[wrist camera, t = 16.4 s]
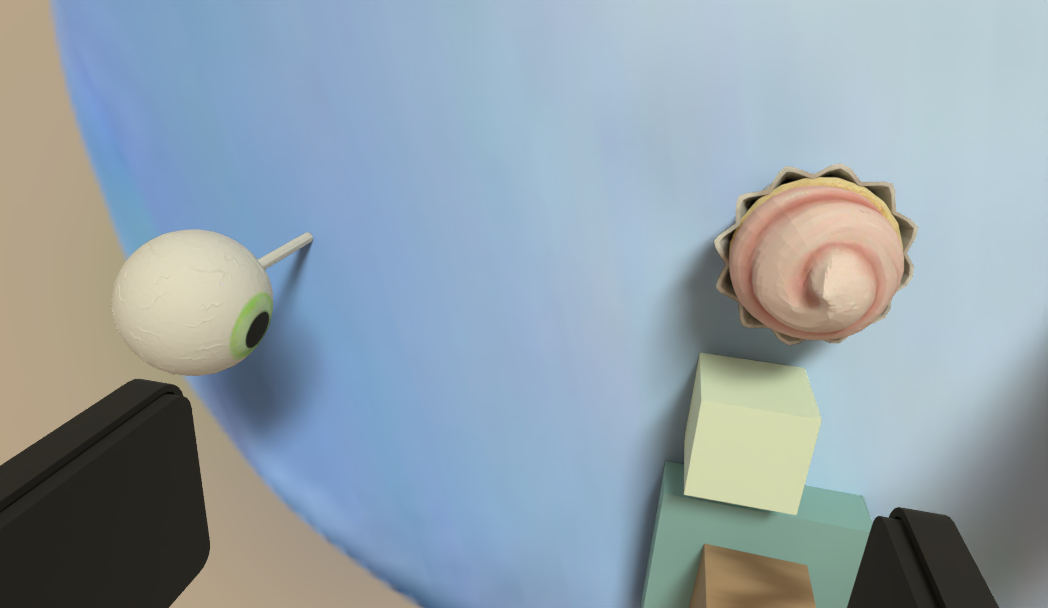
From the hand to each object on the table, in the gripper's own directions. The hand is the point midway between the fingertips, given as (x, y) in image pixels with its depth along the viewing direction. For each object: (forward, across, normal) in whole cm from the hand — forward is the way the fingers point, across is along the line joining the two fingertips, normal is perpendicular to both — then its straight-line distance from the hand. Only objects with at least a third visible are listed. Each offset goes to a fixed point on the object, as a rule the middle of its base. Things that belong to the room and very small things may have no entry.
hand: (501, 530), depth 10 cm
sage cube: (+32, -8, +15) cm, 37 cm away
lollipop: (+33, +20, +8) cm, 39 cm away
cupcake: (+32, -9, +4) cm, 34 cm away
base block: (+33, -10, +26) cm, 43 cm away
